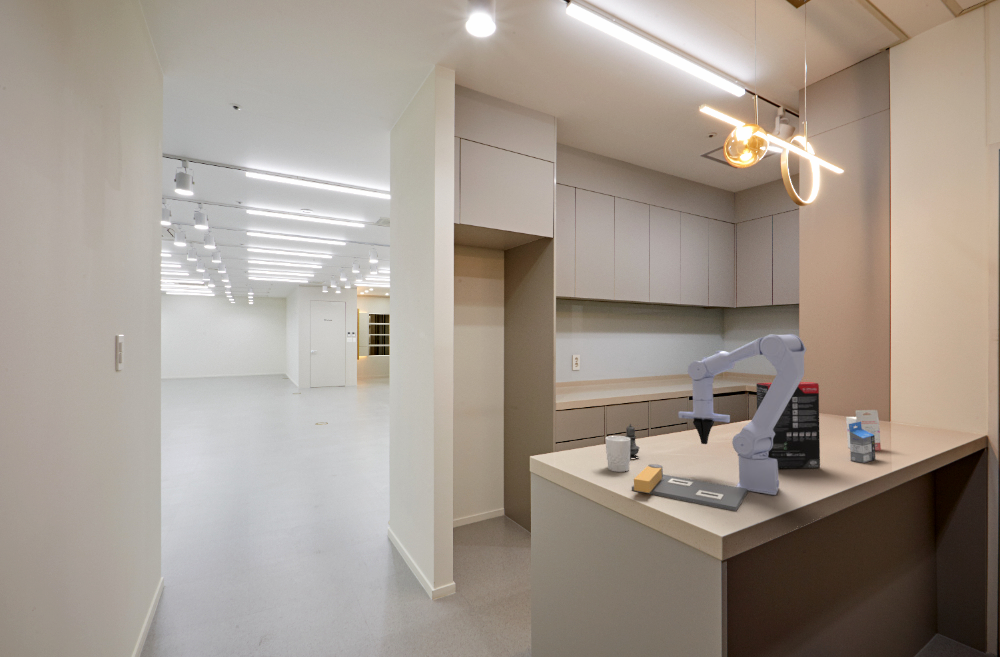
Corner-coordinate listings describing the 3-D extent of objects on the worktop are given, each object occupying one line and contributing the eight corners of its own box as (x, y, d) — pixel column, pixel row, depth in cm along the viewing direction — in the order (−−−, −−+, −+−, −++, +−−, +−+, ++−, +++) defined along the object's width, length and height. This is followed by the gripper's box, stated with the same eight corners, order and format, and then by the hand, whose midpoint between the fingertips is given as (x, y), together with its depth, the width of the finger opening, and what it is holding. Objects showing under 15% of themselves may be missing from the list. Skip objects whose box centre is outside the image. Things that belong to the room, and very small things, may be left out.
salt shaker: (637, 460, 151) (636, 425, 151) (620, 458, 154) (619, 424, 154) (641, 456, 156) (640, 422, 156) (625, 454, 159) (624, 421, 159)
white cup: (622, 464, 146) (621, 434, 146) (636, 471, 139) (635, 439, 139) (601, 467, 144) (600, 436, 144) (615, 473, 136) (614, 441, 137)
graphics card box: (807, 463, 144) (804, 380, 145) (823, 469, 137) (819, 382, 138) (756, 464, 143) (753, 381, 144) (770, 470, 136) (767, 383, 137)
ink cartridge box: (869, 447, 162) (867, 408, 162) (881, 450, 157) (879, 410, 157) (846, 448, 162) (845, 408, 162) (857, 451, 157) (856, 410, 157)
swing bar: (649, 492, 114) (649, 481, 114) (634, 490, 116) (633, 478, 117) (664, 475, 128) (663, 465, 129) (650, 473, 131) (650, 463, 131)
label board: (747, 492, 118) (747, 487, 118) (736, 511, 105) (735, 505, 105) (651, 475, 134) (651, 471, 134) (631, 490, 121) (631, 485, 121)
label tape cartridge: (864, 463, 142) (862, 425, 142) (849, 461, 145) (848, 424, 145) (876, 459, 146) (874, 422, 146) (862, 457, 149) (860, 421, 150)
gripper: (731, 399, 134) (733, 443, 133) (682, 396, 143) (683, 438, 142) (726, 402, 128) (728, 448, 128) (675, 399, 137) (677, 442, 137)
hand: (704, 443), depth 135 cm, fingers closed
